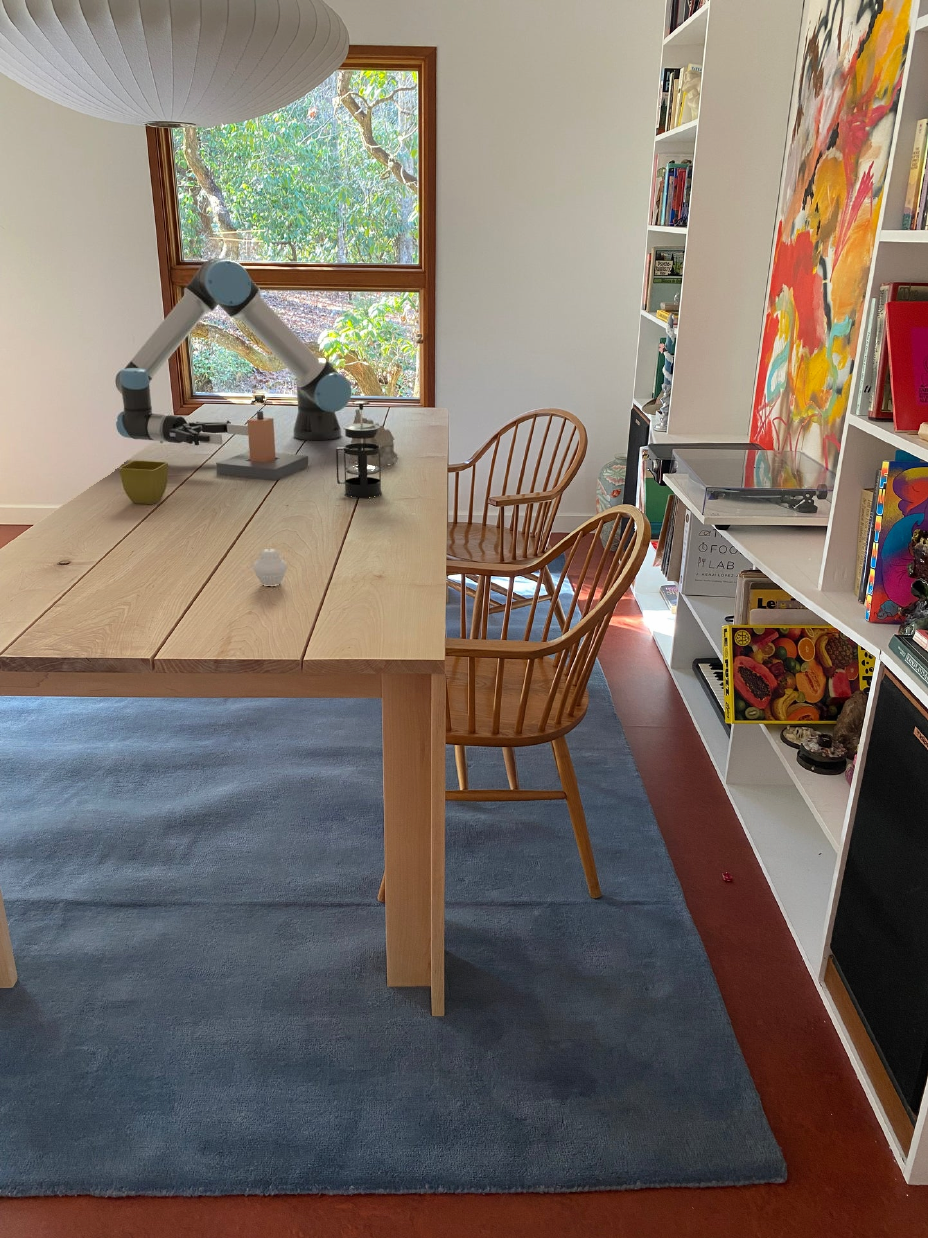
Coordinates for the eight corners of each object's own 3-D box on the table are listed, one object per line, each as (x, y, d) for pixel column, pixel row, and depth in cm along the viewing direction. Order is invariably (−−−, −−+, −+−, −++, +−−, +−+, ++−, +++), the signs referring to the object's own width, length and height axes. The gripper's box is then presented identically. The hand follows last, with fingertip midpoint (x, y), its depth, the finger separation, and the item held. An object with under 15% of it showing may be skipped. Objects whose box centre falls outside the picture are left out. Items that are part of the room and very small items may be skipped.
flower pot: (172, 497, 230) (168, 461, 227) (158, 507, 222) (154, 469, 219) (137, 496, 231) (133, 460, 227) (122, 505, 223) (117, 468, 219)
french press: (382, 488, 242) (381, 398, 233) (386, 498, 233) (384, 404, 225) (336, 489, 240) (333, 398, 232) (338, 499, 232) (335, 404, 223)
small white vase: (286, 590, 172) (284, 553, 169) (252, 590, 172) (249, 554, 169) (289, 578, 178) (287, 543, 175) (256, 578, 177) (254, 543, 175)
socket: (252, 460, 269) (251, 450, 268) (308, 466, 264) (308, 455, 263) (217, 474, 253) (216, 462, 252) (276, 480, 248) (275, 469, 247)
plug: (260, 467, 262) (256, 409, 255) (276, 469, 260) (272, 410, 254) (250, 471, 257) (246, 412, 251) (266, 472, 256) (263, 413, 250)
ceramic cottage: (370, 467, 263) (370, 413, 258) (339, 459, 275) (339, 407, 270) (415, 464, 272) (417, 411, 268) (384, 456, 284) (385, 405, 280)
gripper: (195, 434, 276) (259, 440, 270) (142, 450, 254) (210, 457, 248) (193, 408, 273) (257, 413, 267) (139, 422, 251) (208, 428, 245)
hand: (235, 434), depth 257 cm, fingers open, 13 cm apart
